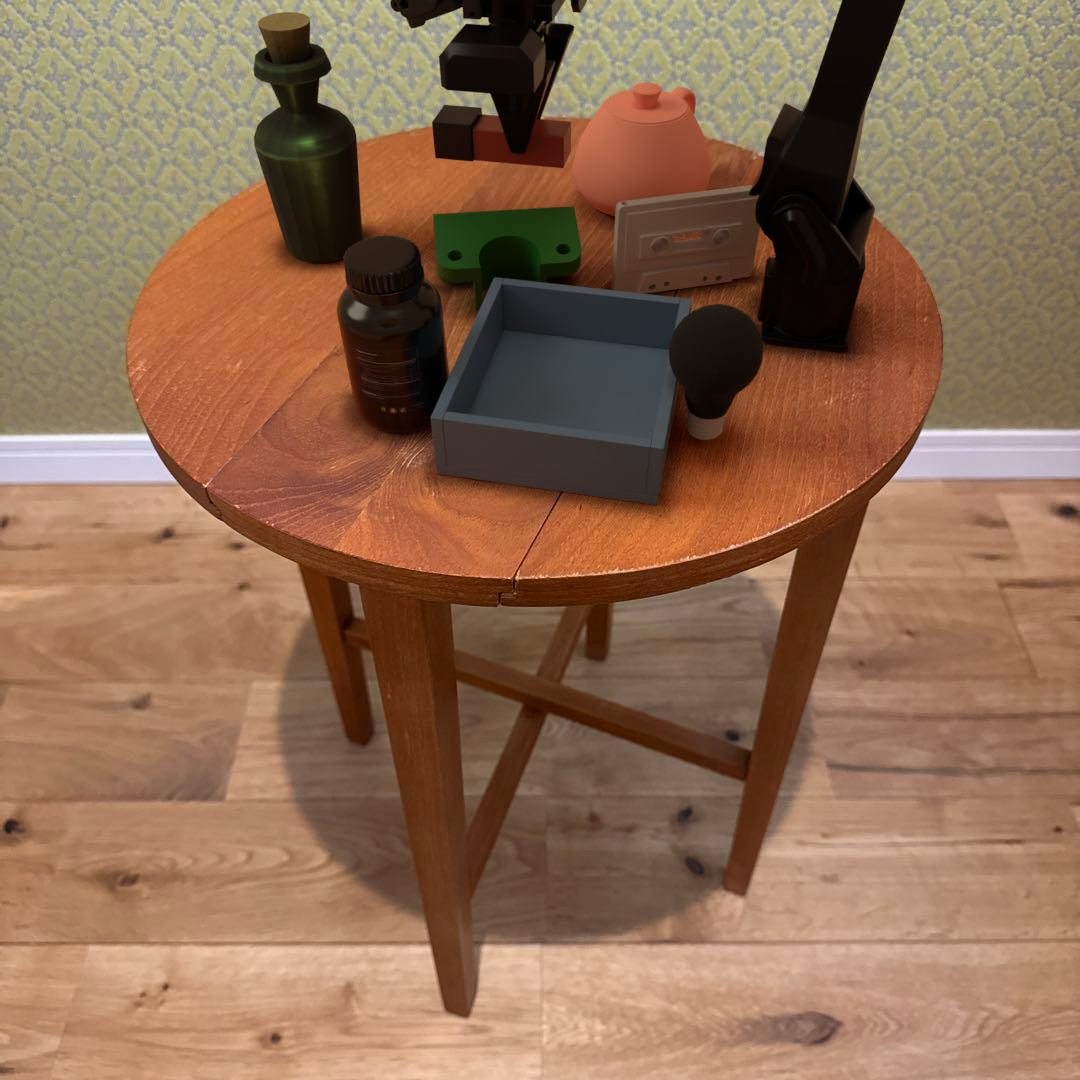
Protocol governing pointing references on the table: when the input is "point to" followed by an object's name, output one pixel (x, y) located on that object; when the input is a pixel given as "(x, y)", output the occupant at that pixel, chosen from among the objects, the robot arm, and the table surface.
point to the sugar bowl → (641, 148)
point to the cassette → (687, 261)
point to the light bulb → (714, 363)
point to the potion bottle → (306, 146)
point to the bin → (563, 391)
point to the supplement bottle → (392, 334)
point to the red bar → (497, 139)
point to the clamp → (506, 246)
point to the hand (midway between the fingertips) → (522, 143)
